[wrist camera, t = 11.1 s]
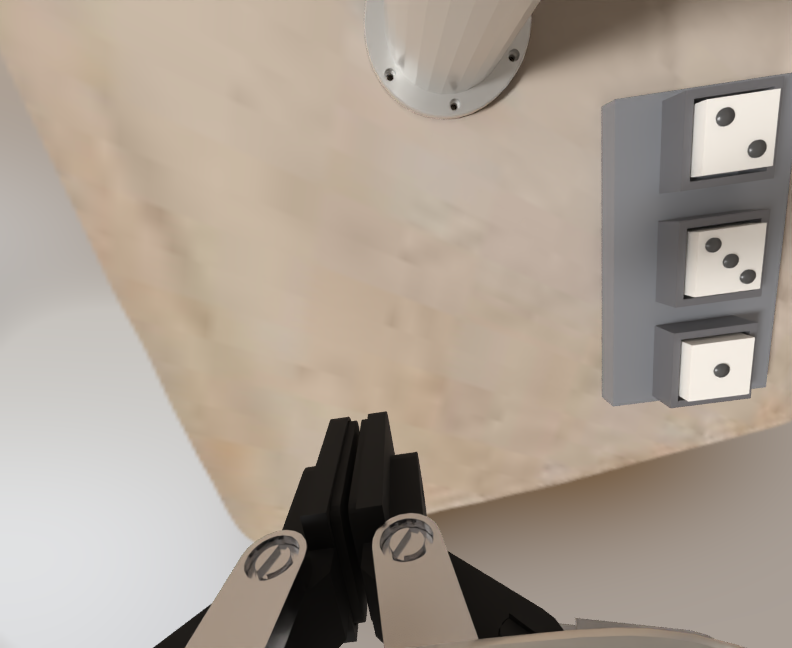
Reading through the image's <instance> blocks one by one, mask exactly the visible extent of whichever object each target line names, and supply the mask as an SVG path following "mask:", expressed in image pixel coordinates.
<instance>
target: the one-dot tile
mask: <svg viewBox="0 0 792 648" xmlns="http://www.w3.org/2000/svg"><path fill="white" fill-rule="evenodd" d="M754 341H755V337H752V336H749V335H746V334H743V333H740V332H736V333H728V334H720V335H713V336H705V337H697V338H690V339H682V340H681V353H680V372H679V390H678V396H680V397H682V398H683V399H685V400H687V401H688V402H689V401H697V400H705V399H713V398H721V397H729V396H737V395H745V394H749V389H750V380H751V370H752V360H753V351H754Z"/></svg>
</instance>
